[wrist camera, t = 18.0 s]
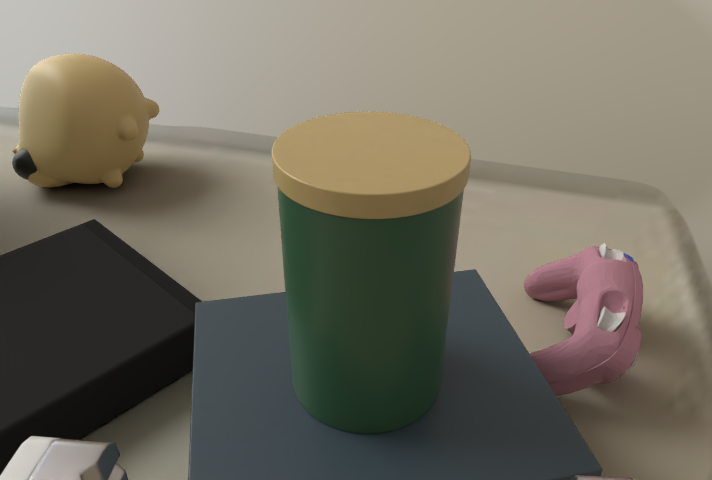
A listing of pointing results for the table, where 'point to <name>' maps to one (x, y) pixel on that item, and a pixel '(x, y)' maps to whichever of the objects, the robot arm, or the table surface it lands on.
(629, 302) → the video game controller
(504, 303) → the table surface
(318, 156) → the tea tin
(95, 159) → the toy pig
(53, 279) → the external hard drive
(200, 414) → the storage box
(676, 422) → the table surface
